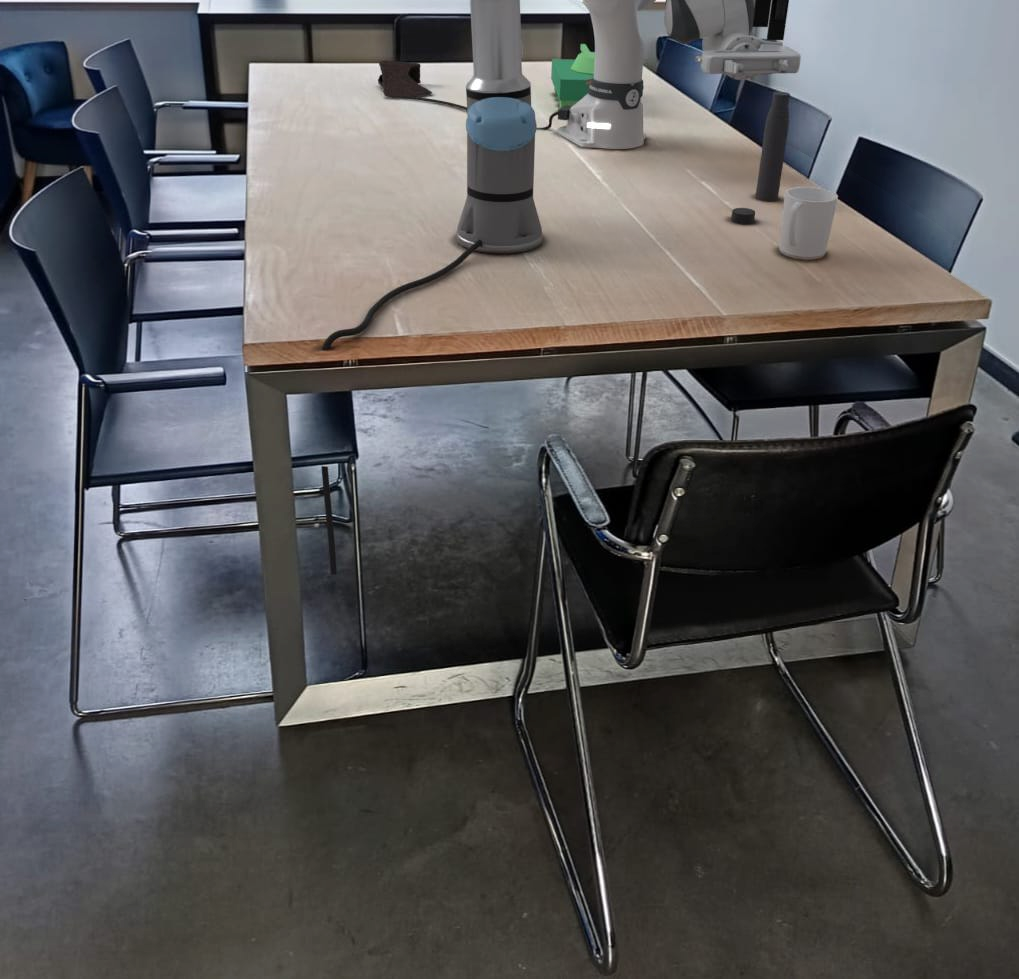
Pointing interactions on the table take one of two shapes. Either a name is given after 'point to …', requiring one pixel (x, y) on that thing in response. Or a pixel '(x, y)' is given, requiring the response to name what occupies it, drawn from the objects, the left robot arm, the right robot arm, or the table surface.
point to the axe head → (401, 79)
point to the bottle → (773, 148)
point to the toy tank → (572, 77)
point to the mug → (806, 222)
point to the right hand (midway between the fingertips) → (762, 69)
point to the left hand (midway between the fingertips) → (767, 33)
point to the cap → (743, 215)
